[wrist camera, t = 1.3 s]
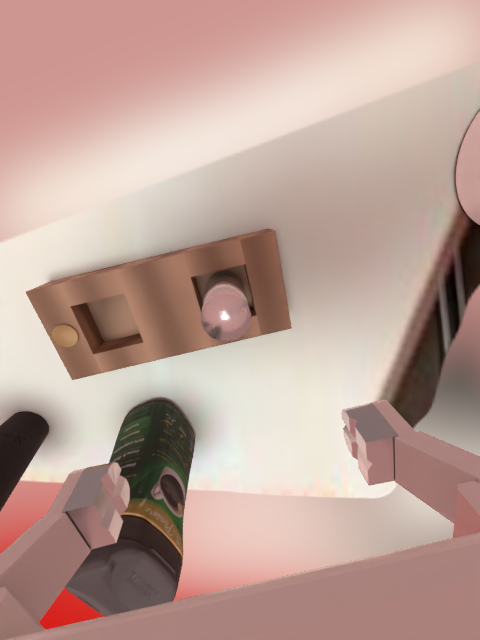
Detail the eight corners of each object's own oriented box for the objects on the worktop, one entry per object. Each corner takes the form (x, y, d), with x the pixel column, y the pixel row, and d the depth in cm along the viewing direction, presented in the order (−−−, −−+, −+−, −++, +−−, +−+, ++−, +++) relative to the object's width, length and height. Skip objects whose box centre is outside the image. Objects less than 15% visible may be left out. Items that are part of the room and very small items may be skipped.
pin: (238, 267, 30) (245, 288, 22) (245, 302, 31) (255, 335, 23) (201, 275, 30) (194, 301, 22) (211, 310, 32) (208, 346, 23)
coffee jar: (115, 414, 37) (23, 593, 20) (168, 389, 36) (121, 554, 19) (155, 462, 40) (107, 651, 23) (204, 440, 40) (192, 619, 22)
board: (267, 228, 30) (275, 231, 26) (283, 315, 33) (292, 329, 29) (49, 281, 30) (23, 292, 26) (88, 361, 34) (71, 381, 30)
